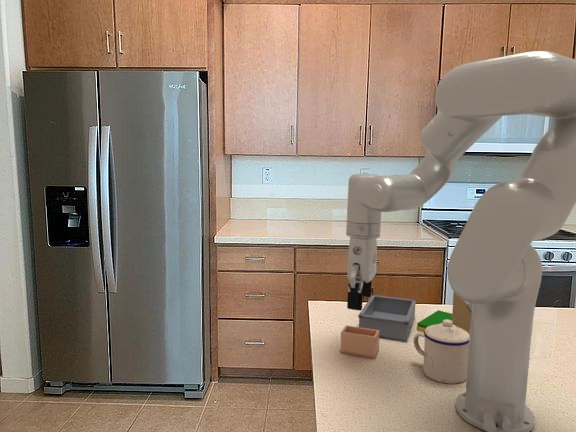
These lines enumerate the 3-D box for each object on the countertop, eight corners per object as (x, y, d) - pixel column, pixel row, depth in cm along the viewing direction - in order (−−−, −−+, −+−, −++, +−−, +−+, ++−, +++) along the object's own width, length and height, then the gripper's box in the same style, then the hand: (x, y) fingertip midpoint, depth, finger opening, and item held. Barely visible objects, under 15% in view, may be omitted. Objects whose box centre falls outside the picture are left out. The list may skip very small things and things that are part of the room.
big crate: (407, 342, 109) (408, 322, 108) (357, 334, 113) (358, 315, 112) (415, 317, 125) (416, 300, 125) (371, 311, 130) (372, 294, 129)
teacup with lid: (475, 375, 93) (479, 321, 91) (454, 390, 86) (458, 332, 85) (423, 355, 101) (426, 306, 100) (401, 368, 95) (404, 316, 94)
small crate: (375, 358, 100) (375, 337, 99) (340, 352, 102) (340, 332, 102) (378, 350, 104) (379, 330, 103) (345, 345, 107) (345, 325, 106)
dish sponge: (462, 324, 122) (463, 315, 122) (442, 339, 112) (443, 330, 111) (437, 317, 127) (438, 309, 126) (416, 331, 116) (416, 323, 116)
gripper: (372, 237, 90) (367, 318, 93) (386, 224, 106) (382, 293, 109) (336, 234, 93) (333, 312, 95) (355, 222, 109) (352, 289, 111)
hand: (359, 302), depth 102 cm, fingers open, 9 cm apart
